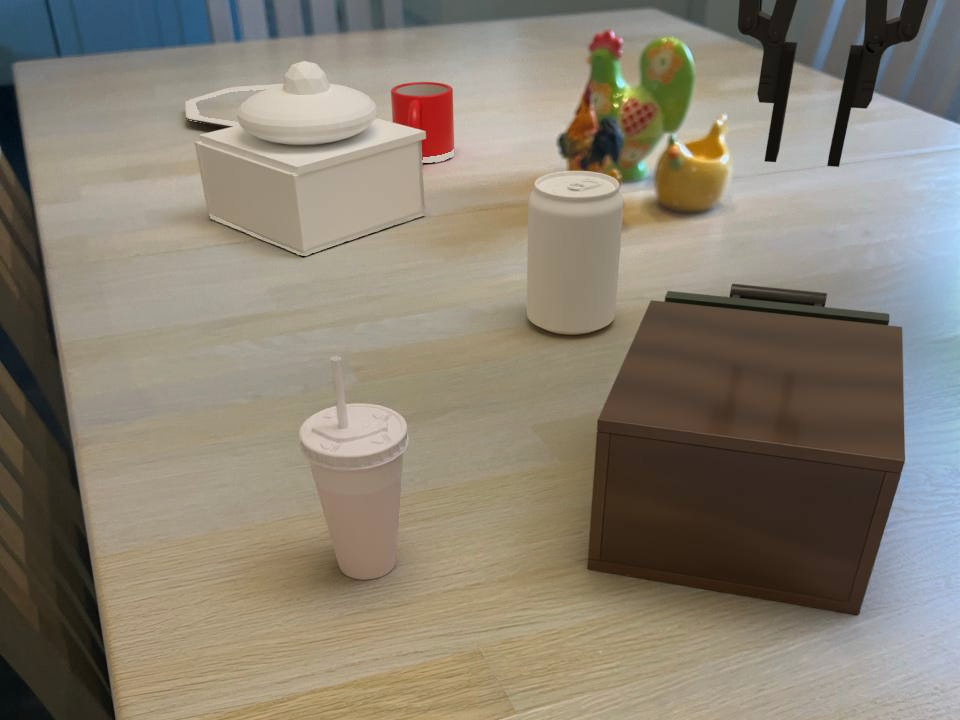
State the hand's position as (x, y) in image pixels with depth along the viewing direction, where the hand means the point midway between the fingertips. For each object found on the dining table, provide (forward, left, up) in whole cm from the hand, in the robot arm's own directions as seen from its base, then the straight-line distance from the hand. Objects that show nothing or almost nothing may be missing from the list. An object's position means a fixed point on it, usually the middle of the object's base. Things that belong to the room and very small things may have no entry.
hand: (802, 157), depth 68 cm
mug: (+48, -56, -19) cm, 76 cm away
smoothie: (+22, +28, -19) cm, 40 cm away
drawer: (0, +8, -18) cm, 19 cm away
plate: (+78, -72, -19) cm, 108 cm away
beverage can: (+18, -12, -19) cm, 29 cm away
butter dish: (+52, -32, -19) cm, 64 cm away
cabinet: (0, +16, -19) cm, 24 cm away
